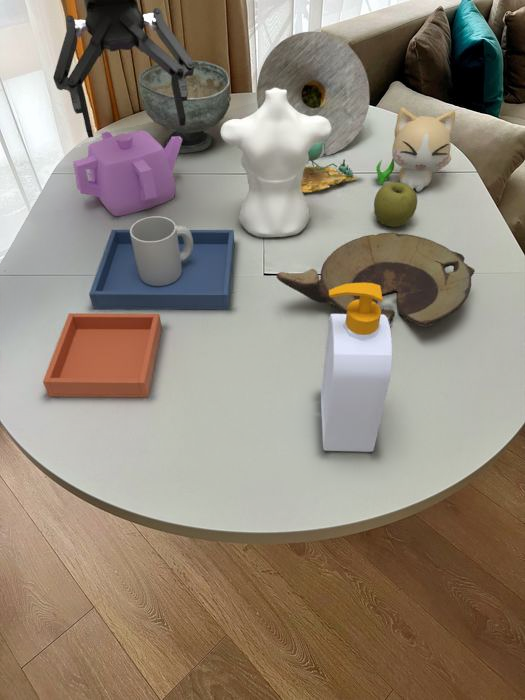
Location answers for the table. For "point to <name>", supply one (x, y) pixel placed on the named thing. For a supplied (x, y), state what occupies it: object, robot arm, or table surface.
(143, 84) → the bowl
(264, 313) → the table surface
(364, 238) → the pottery shard
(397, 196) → the apple
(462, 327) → the table surface
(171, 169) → the teakettle
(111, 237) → the blue tray
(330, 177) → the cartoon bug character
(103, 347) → the terracotta tray
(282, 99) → the torso sculpture
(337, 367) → the soap bottle
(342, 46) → the disc
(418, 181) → the kitten
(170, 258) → the cup
